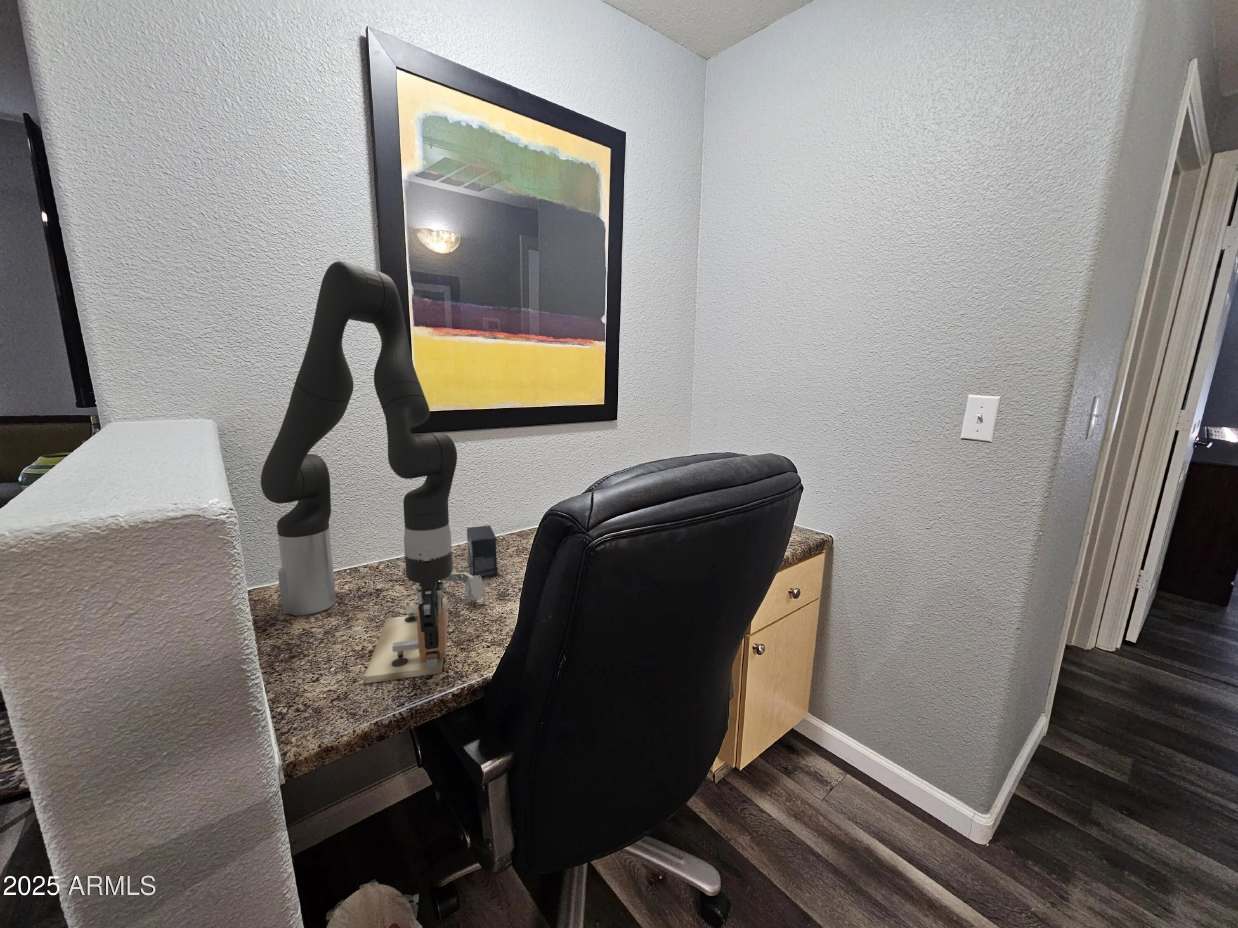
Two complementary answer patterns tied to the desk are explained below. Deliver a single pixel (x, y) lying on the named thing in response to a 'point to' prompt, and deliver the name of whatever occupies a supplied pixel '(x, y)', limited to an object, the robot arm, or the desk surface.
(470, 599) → the bracket
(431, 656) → the divider beam
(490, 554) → the small box
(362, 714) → the desk surface
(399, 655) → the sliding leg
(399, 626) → the bolt plate
